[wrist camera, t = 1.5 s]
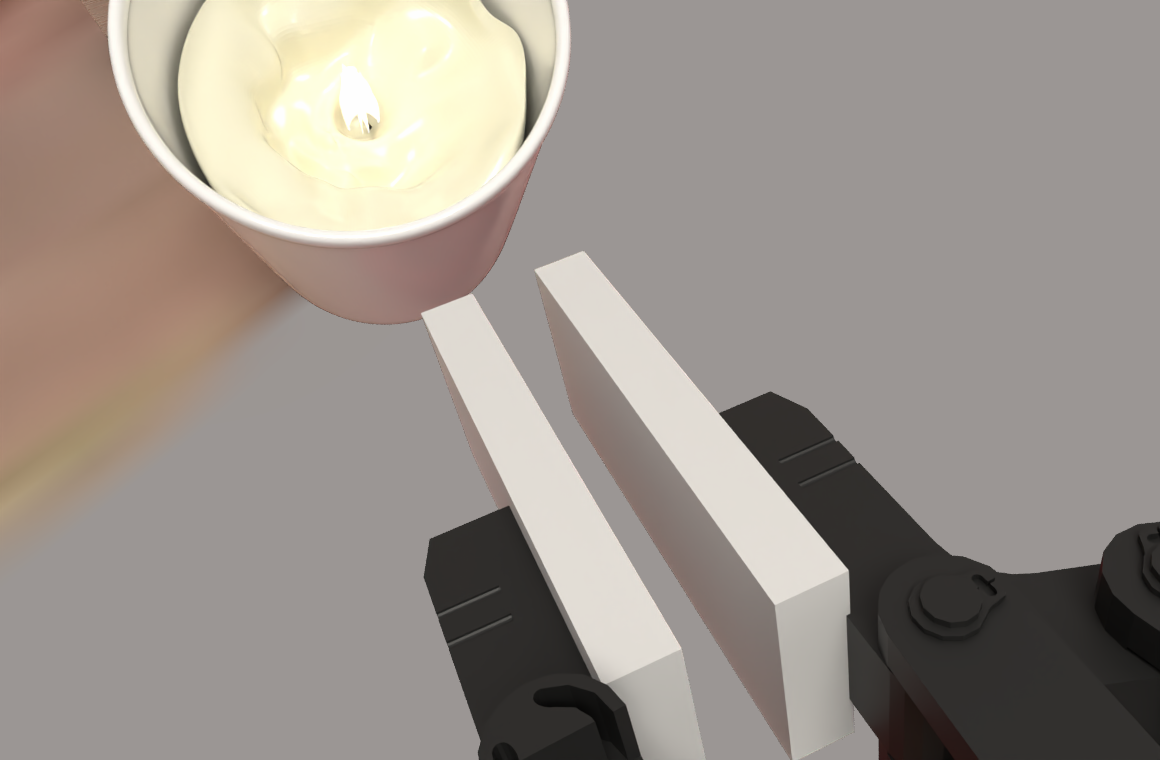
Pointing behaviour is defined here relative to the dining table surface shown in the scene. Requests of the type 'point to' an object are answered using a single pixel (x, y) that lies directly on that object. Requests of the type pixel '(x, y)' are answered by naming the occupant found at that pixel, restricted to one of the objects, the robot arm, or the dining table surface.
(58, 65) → the dining table surface
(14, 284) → the dining table surface
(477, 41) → the candle holder
